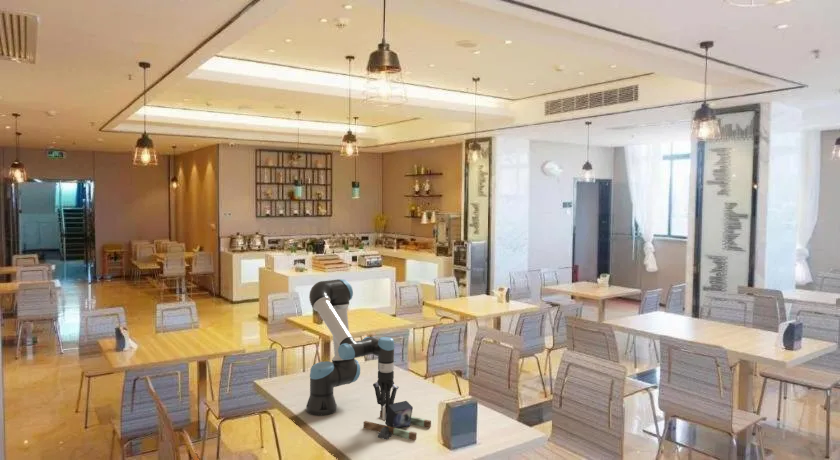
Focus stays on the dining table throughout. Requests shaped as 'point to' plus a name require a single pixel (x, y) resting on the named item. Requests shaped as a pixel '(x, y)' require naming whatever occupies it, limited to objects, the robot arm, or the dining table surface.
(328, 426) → the dining table surface
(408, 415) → the small box
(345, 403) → the dining table surface
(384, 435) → the fulcrum
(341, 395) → the dining table surface
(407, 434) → the beam slot
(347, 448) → the dining table surface
